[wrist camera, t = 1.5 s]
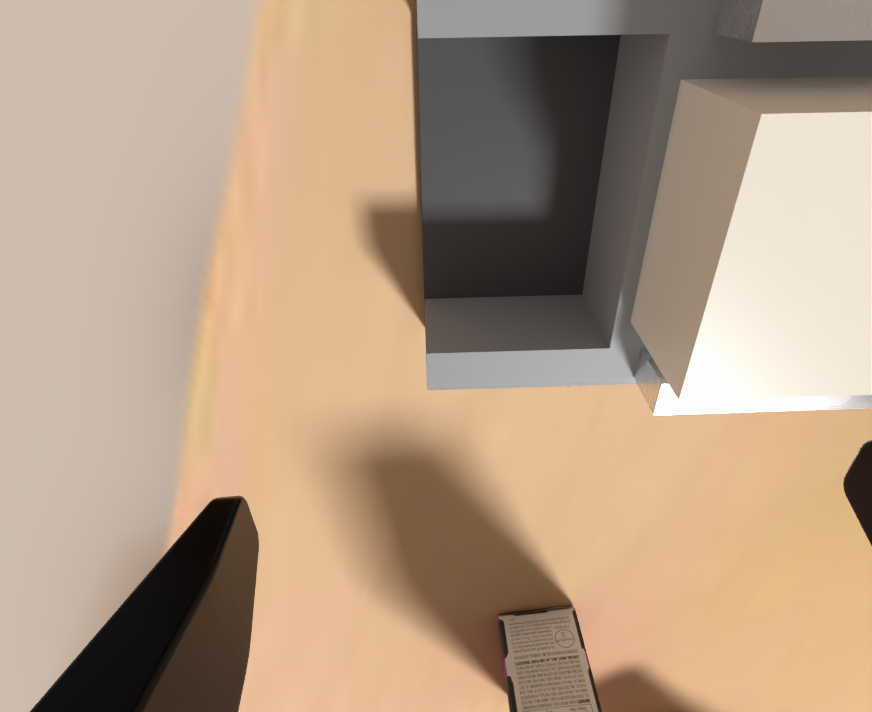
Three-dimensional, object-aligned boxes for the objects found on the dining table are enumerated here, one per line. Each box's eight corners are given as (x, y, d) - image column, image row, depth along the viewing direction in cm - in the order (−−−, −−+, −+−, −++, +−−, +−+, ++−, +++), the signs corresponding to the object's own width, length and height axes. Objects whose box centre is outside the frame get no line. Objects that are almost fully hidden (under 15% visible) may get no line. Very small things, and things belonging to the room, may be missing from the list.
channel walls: (1153, -34, 13) (1259, -35, 12) (923, 368, 20) (970, 405, 18) (724, -28, 13) (769, -27, 11) (633, 376, 19) (653, 415, 18)
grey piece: (1182, -50, 16) (1375, -54, 13) (968, 313, 23) (1060, 370, 20) (415, -38, 16) (416, -39, 13) (425, 328, 23) (427, 390, 19)
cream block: (957, 74, 14) (1119, 106, 11) (847, 315, 18) (943, 392, 15) (680, 79, 14) (761, 114, 11) (630, 321, 18) (678, 401, 15)
